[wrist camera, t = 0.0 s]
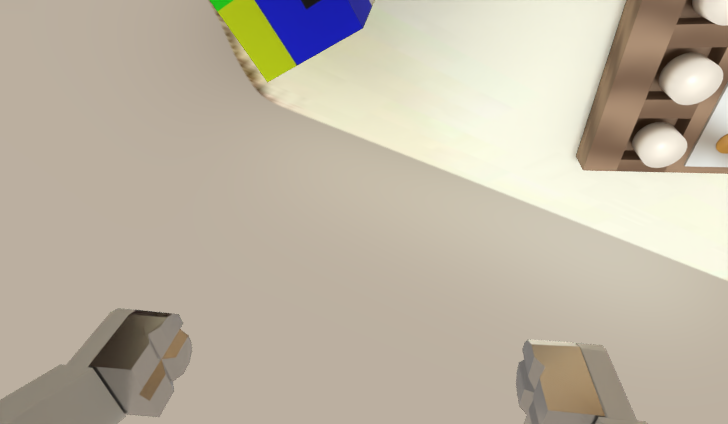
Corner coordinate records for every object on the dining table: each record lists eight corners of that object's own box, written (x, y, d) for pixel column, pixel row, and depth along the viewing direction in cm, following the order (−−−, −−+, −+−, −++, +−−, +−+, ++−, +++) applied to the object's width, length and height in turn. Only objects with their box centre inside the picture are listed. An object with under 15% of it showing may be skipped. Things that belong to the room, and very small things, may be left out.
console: (648, -67, 34) (666, -61, 32) (881, -78, 32) (922, -73, 29) (576, 156, 48) (584, 172, 46) (734, 158, 46) (753, 176, 44)
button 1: (640, 121, 42) (650, 133, 40) (682, 121, 41) (694, 134, 40) (626, 154, 45) (635, 167, 43) (666, 155, 44) (676, 168, 42)
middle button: (669, 52, 38) (681, 62, 36) (717, 51, 37) (732, 61, 35) (651, 93, 40) (662, 105, 38) (696, 93, 40) (709, 105, 38)
